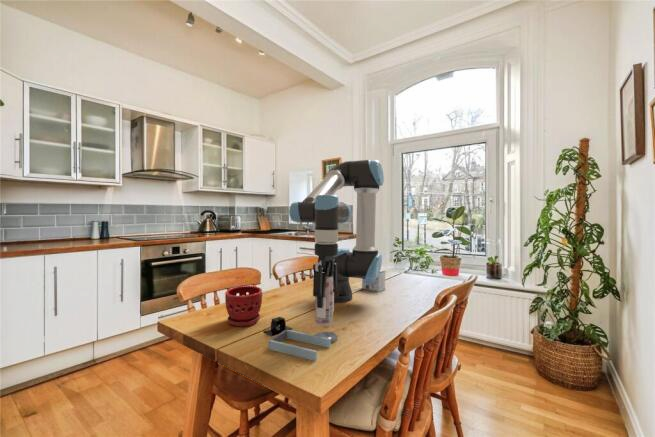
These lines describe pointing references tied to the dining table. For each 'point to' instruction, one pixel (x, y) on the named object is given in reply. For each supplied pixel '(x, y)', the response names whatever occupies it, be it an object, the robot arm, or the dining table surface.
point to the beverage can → (327, 304)
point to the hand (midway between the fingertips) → (325, 314)
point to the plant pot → (243, 305)
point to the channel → (296, 350)
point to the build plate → (277, 326)
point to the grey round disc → (328, 336)
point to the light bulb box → (375, 282)
